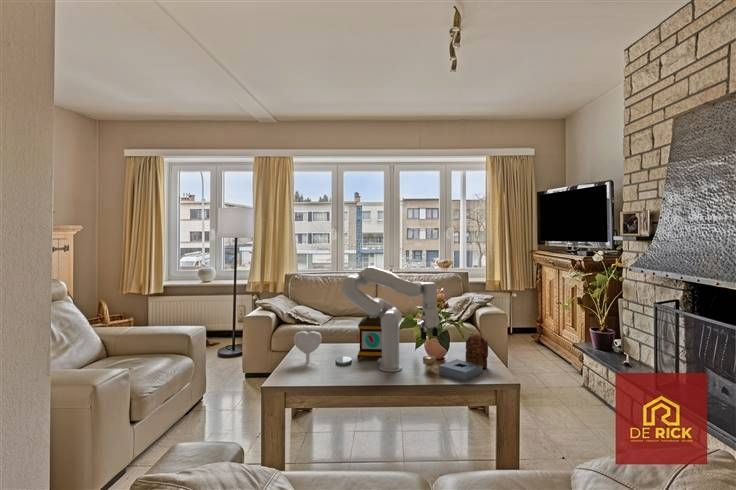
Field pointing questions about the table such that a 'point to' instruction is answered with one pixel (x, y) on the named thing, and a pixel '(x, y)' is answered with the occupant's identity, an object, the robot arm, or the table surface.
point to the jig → (460, 370)
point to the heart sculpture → (307, 344)
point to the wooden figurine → (477, 350)
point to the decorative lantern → (370, 337)
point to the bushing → (429, 363)
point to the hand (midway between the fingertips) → (429, 337)
